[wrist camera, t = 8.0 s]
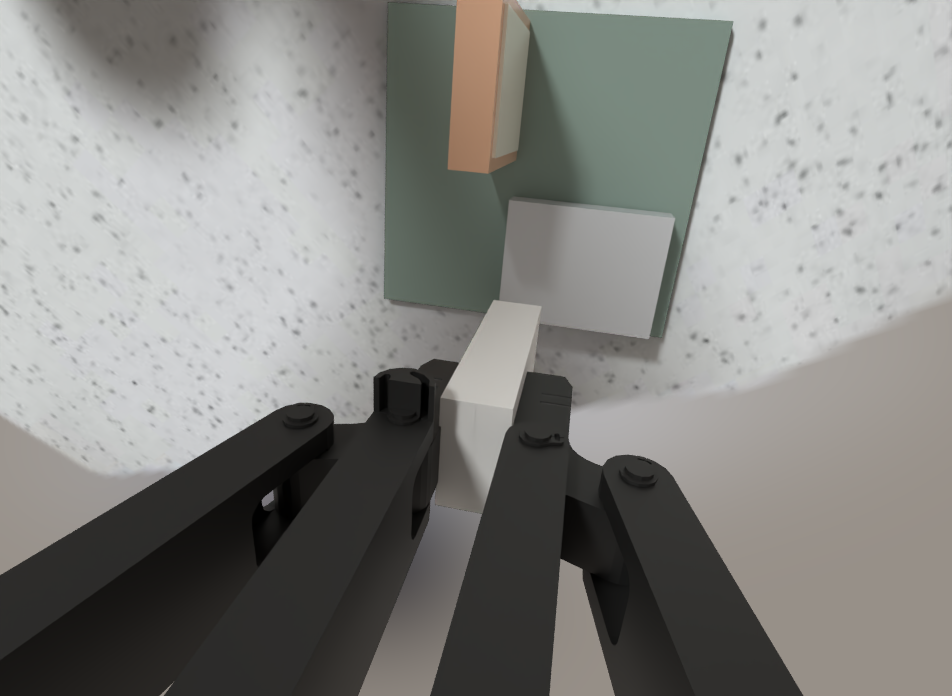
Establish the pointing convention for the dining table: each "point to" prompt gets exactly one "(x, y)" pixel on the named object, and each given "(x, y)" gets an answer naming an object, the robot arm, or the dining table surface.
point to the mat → (543, 141)
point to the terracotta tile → (487, 84)
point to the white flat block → (586, 264)
